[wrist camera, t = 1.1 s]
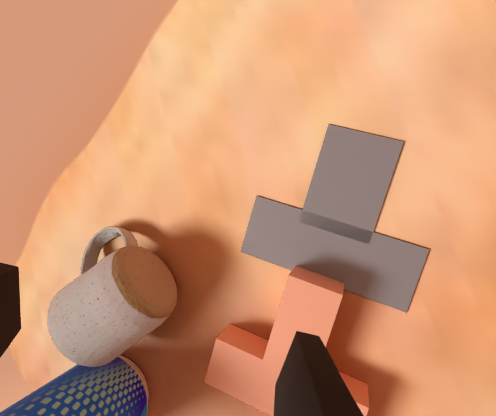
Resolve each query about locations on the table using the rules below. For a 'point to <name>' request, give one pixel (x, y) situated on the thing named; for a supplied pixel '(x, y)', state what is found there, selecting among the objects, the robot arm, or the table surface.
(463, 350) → the table surface
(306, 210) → the T pad
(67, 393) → the beer can
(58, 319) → the ceramic mug
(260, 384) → the T block
